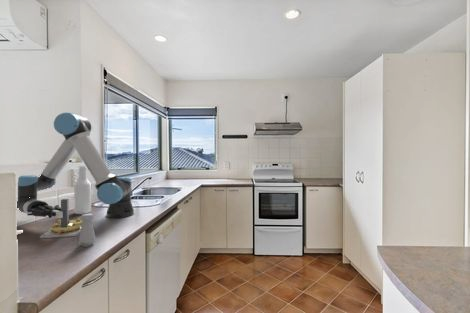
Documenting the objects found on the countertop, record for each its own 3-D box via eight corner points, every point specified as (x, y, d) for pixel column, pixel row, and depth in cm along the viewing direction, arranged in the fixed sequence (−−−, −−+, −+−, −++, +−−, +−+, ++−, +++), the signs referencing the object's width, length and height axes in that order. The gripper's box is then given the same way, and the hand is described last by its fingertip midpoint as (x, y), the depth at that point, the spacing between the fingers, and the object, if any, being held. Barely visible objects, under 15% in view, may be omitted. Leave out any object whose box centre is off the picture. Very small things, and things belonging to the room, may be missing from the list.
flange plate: (90, 223, 121) (90, 220, 121) (75, 235, 103) (75, 232, 103) (60, 225, 117) (60, 222, 117) (39, 238, 100) (39, 234, 100)
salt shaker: (86, 241, 97) (86, 211, 97) (98, 242, 96) (98, 212, 96) (75, 247, 91) (75, 215, 91) (88, 248, 91) (88, 216, 90)
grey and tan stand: (55, 225, 114) (55, 195, 113) (85, 222, 119) (86, 194, 119) (46, 233, 102) (46, 201, 101) (80, 230, 107) (80, 199, 107)
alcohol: (70, 213, 139) (70, 165, 138) (83, 210, 147) (83, 164, 147) (82, 215, 137) (82, 166, 136) (94, 211, 145) (94, 165, 145)
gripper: (51, 212, 119) (76, 219, 109) (19, 218, 108) (44, 227, 97) (51, 198, 119) (76, 204, 108) (19, 202, 108) (44, 209, 97)
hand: (61, 215), depth 103 cm, fingers closed
